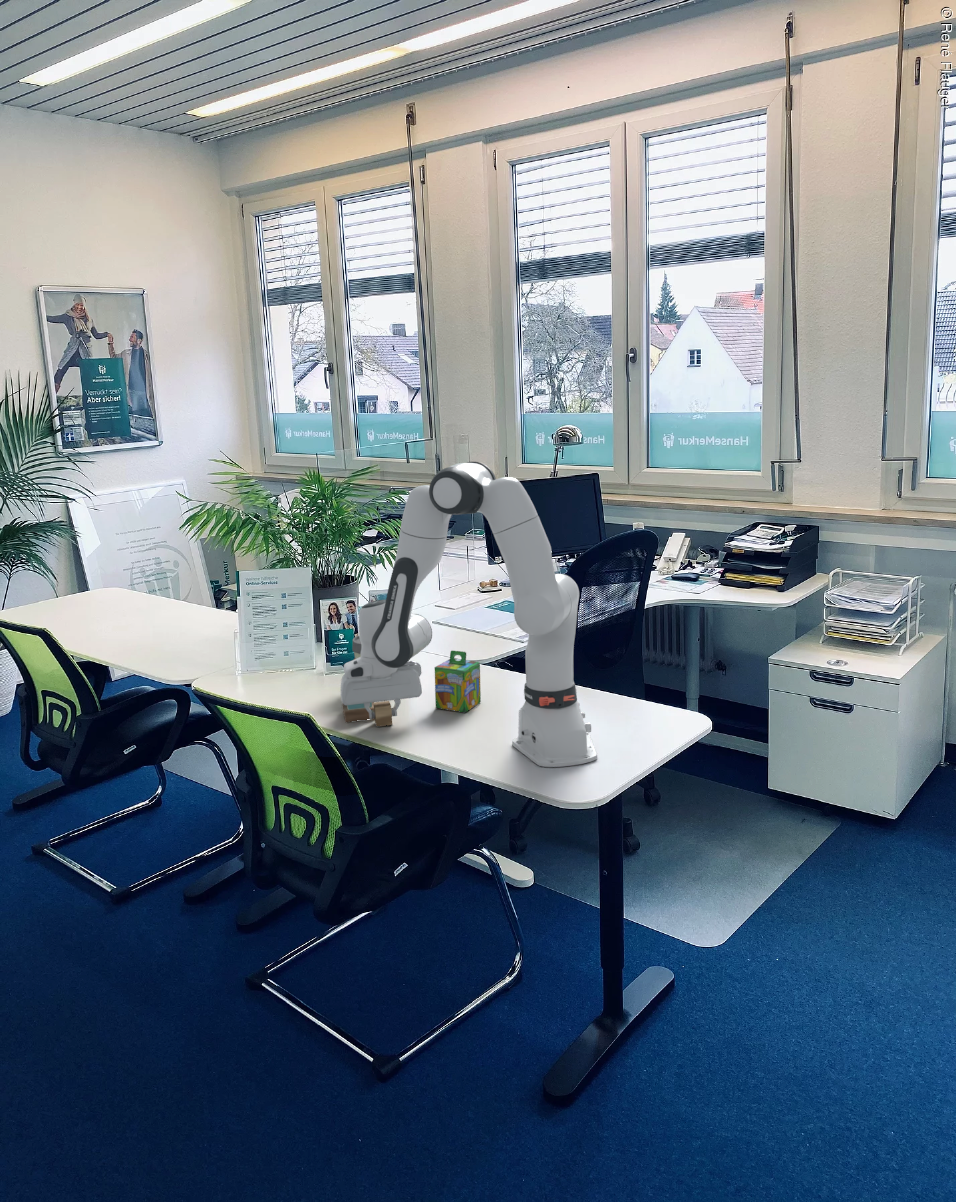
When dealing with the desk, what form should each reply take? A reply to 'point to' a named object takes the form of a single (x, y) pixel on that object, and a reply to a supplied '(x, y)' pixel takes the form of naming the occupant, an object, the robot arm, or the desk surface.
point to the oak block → (383, 713)
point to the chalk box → (457, 683)
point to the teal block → (357, 706)
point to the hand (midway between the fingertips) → (383, 716)
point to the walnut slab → (356, 713)
